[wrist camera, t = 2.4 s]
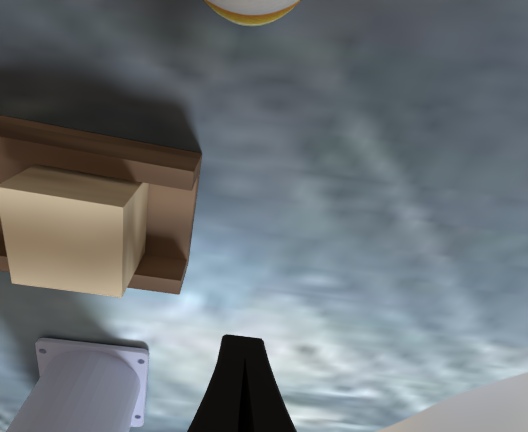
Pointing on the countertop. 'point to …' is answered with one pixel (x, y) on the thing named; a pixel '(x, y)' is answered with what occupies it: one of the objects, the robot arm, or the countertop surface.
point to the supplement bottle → (252, 10)
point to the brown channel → (124, 167)
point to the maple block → (73, 229)
